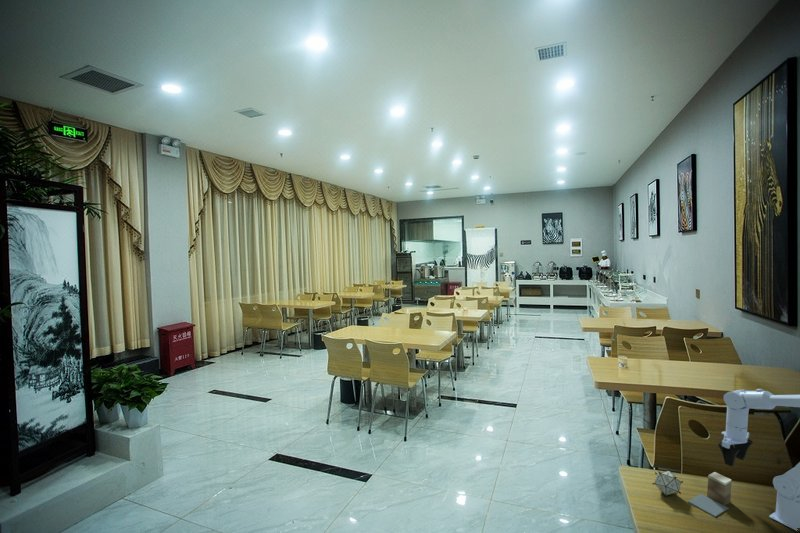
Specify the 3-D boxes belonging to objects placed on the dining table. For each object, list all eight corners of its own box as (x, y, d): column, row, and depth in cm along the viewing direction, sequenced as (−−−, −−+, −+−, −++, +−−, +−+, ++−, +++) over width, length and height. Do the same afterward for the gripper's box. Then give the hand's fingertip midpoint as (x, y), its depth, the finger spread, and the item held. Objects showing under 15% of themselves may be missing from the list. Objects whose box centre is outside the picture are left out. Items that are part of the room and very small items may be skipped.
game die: (673, 506, 139) (692, 495, 133) (648, 495, 141) (665, 484, 134) (669, 481, 146) (686, 469, 140) (645, 471, 147) (661, 459, 141)
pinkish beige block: (730, 502, 136) (731, 479, 135) (724, 505, 134) (725, 483, 133) (713, 493, 140) (714, 471, 139) (707, 497, 138) (708, 475, 138)
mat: (728, 509, 132) (728, 507, 132) (715, 517, 129) (715, 516, 129) (701, 494, 139) (701, 493, 139) (688, 502, 136) (688, 501, 136)
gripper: (733, 415, 146) (731, 450, 148) (712, 424, 140) (710, 461, 141) (757, 423, 140) (754, 460, 142) (737, 433, 134) (734, 472, 135)
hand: (734, 461), depth 141 cm, fingers open, 7 cm apart
